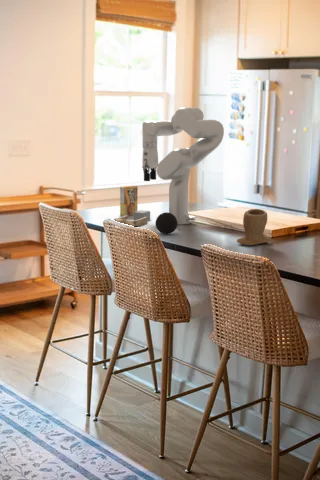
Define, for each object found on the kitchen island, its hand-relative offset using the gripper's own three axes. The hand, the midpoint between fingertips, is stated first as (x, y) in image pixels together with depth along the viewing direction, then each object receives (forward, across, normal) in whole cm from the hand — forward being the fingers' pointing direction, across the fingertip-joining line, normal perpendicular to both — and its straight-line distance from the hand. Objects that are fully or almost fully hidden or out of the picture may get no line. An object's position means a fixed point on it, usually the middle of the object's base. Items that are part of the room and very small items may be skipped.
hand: (150, 179), depth 371 cm
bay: (+20, -22, 0) cm, 30 cm away
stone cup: (+20, -44, -71) cm, 86 cm away
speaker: (+20, -39, -27) cm, 51 cm away
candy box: (+20, +3, +14) cm, 24 cm away
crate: (+20, -10, 0) cm, 22 cm away
